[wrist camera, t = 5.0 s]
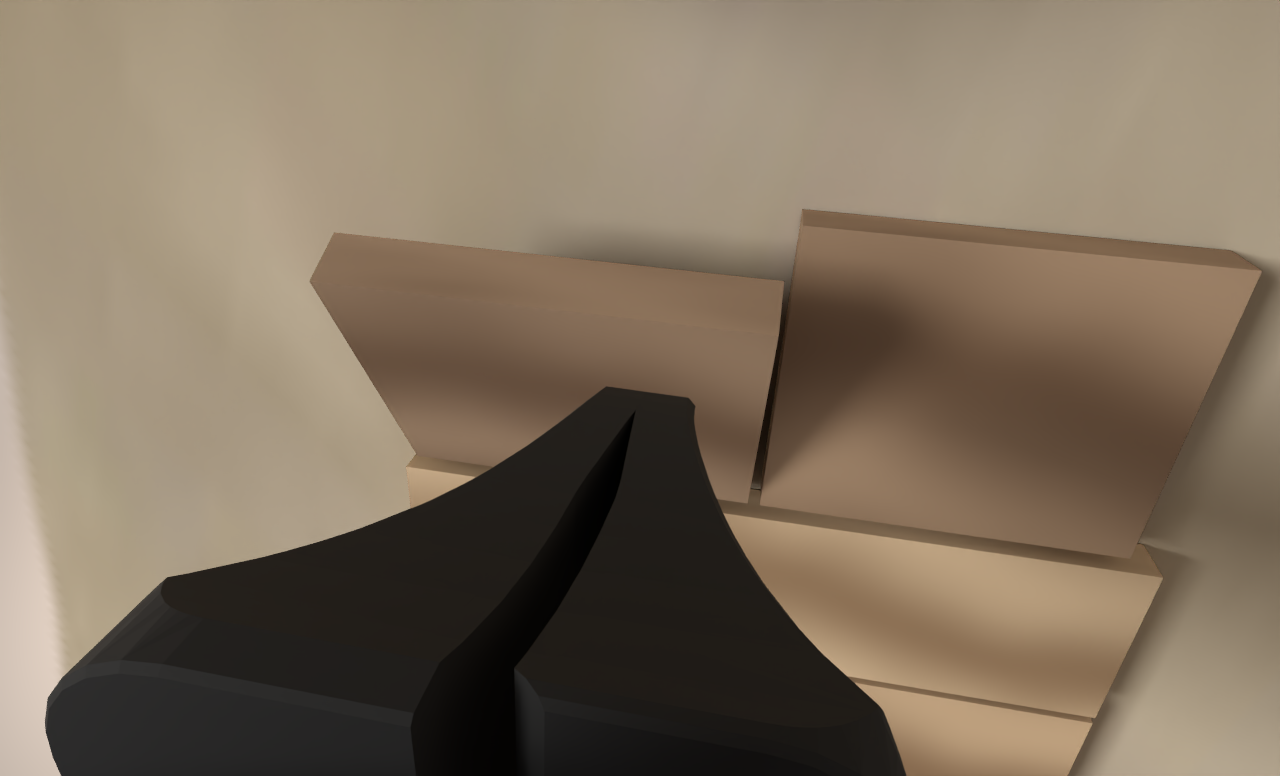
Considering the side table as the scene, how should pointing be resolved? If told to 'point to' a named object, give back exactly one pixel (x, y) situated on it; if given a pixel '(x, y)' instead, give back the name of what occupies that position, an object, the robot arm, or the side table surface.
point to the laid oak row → (940, 626)
